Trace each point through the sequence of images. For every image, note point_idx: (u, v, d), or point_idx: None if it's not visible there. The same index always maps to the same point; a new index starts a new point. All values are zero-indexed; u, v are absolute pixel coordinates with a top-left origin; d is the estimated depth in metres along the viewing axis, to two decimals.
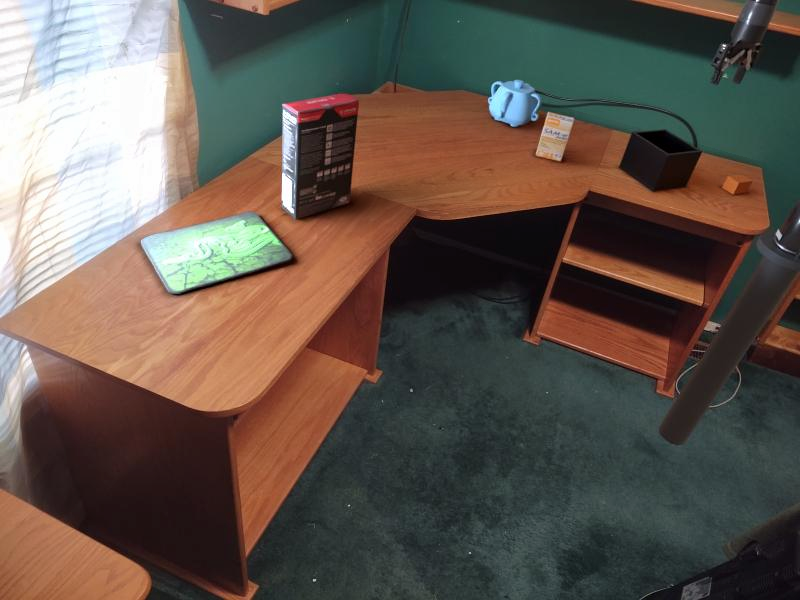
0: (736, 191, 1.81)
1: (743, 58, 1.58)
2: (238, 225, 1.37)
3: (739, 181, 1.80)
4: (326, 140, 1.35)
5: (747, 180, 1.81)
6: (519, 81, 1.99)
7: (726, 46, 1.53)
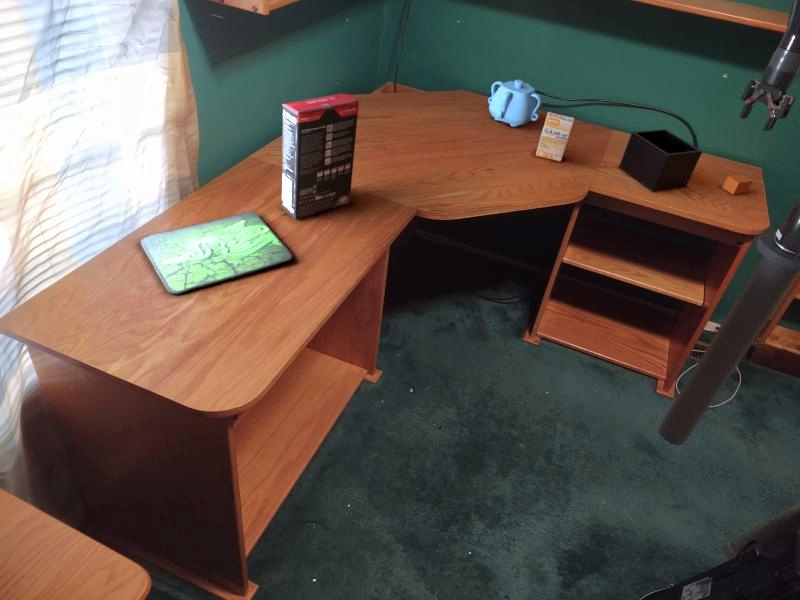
0: (736, 191, 1.81)
1: None
2: (238, 225, 1.37)
3: (739, 181, 1.80)
4: (326, 140, 1.35)
5: (747, 180, 1.81)
6: (519, 81, 1.99)
7: (793, 98, 1.60)
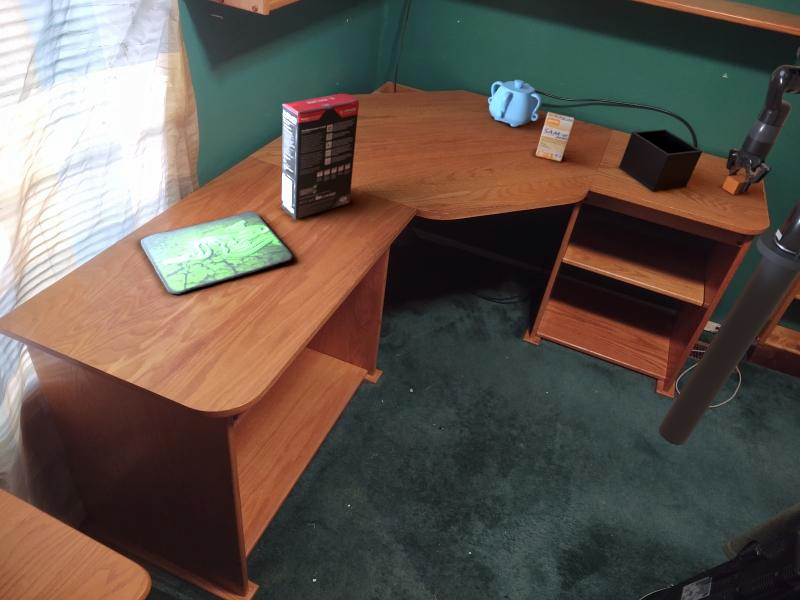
0: (736, 191, 1.81)
1: None
2: (238, 225, 1.37)
3: (739, 181, 1.80)
4: (326, 140, 1.35)
5: None
6: (519, 81, 1.99)
7: (769, 169, 1.74)
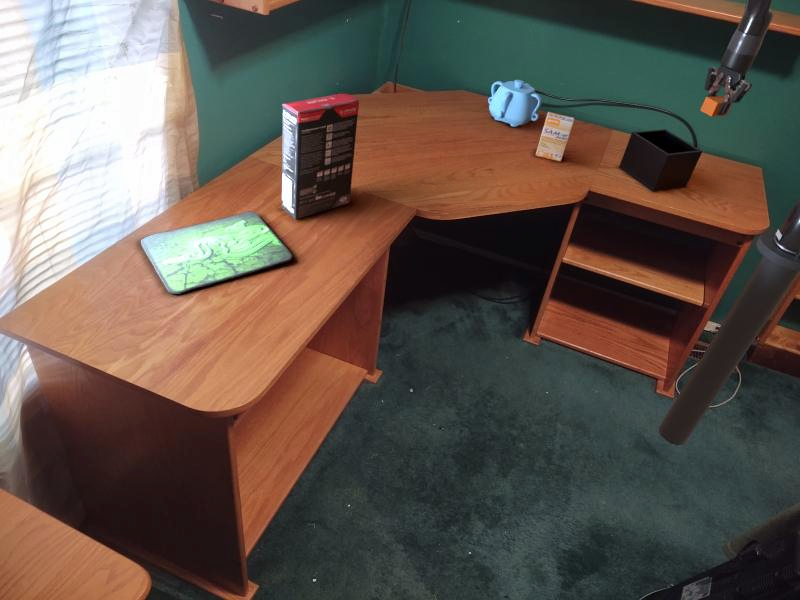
0: (715, 113, 1.68)
1: None
2: (238, 225, 1.37)
3: (718, 101, 1.67)
4: (326, 140, 1.35)
5: None
6: (519, 81, 1.99)
7: (750, 86, 1.60)
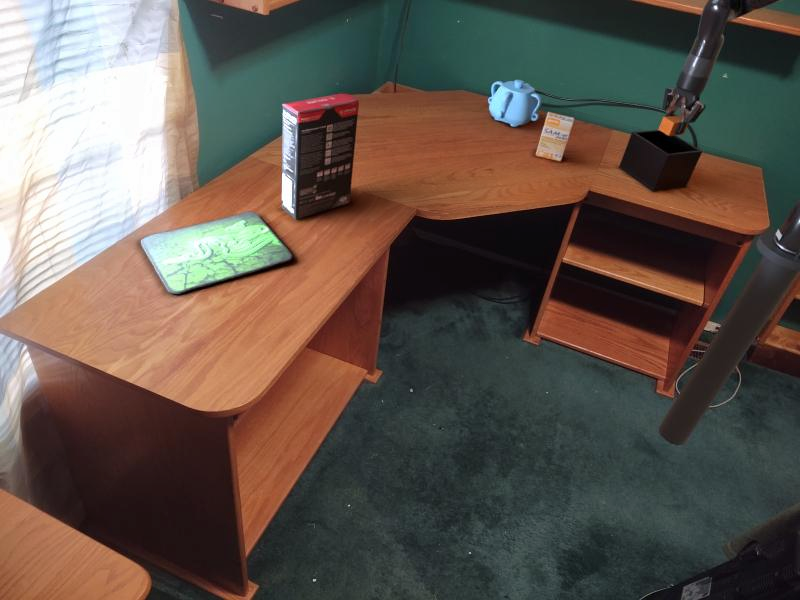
0: (672, 132, 1.73)
1: None
2: (238, 225, 1.37)
3: (675, 121, 1.71)
4: (326, 140, 1.35)
5: None
6: (519, 81, 1.99)
7: (704, 107, 1.65)
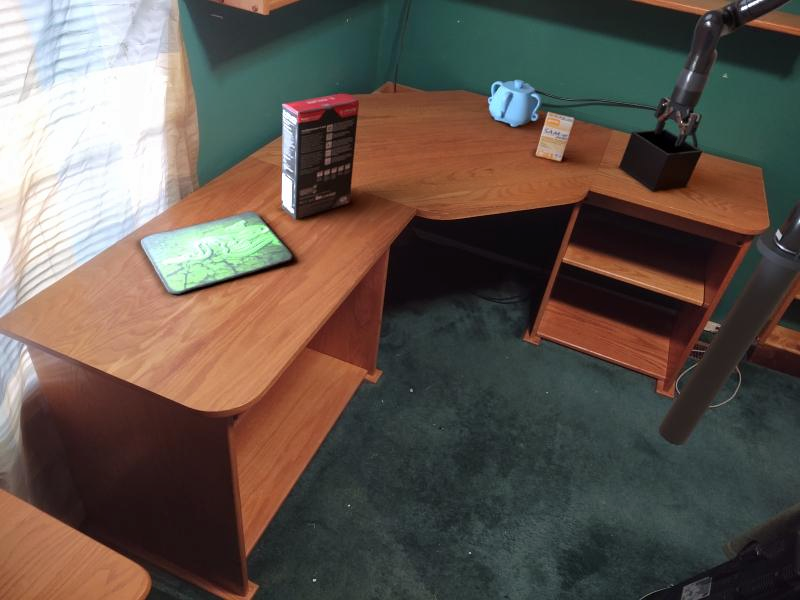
0: None
1: None
2: (238, 225, 1.37)
3: None
4: (326, 140, 1.35)
5: None
6: (519, 81, 1.99)
7: (700, 116, 1.66)
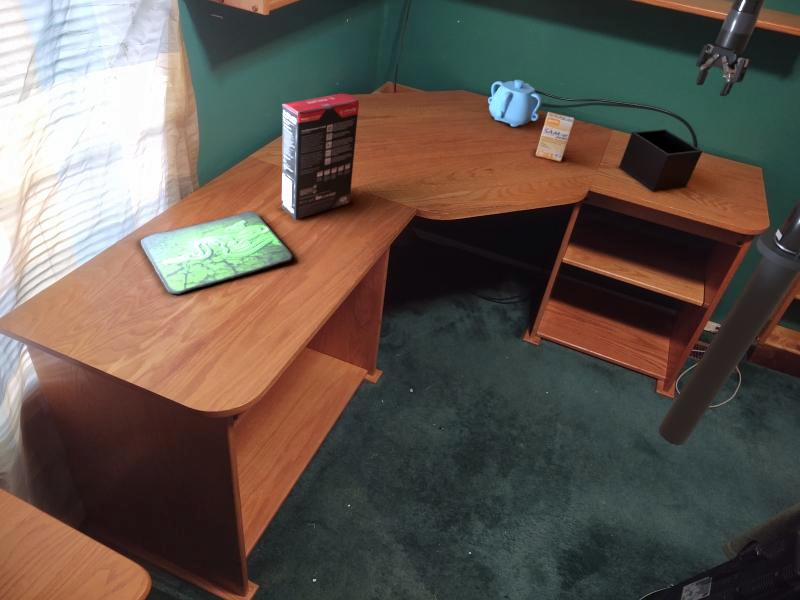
0: None
1: None
2: (238, 225, 1.37)
3: None
4: (326, 140, 1.35)
5: None
6: (519, 81, 1.99)
7: (749, 60, 1.56)
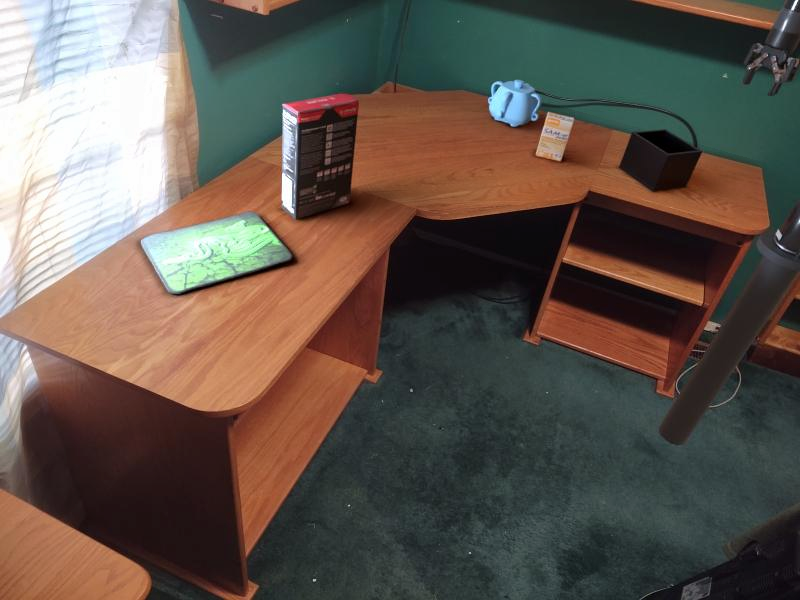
0: None
1: None
2: (238, 225, 1.37)
3: None
4: (326, 140, 1.35)
5: None
6: (519, 81, 1.99)
7: (799, 60, 1.55)
